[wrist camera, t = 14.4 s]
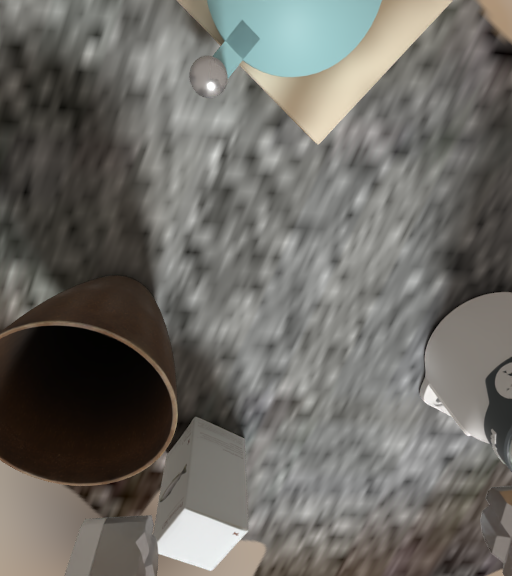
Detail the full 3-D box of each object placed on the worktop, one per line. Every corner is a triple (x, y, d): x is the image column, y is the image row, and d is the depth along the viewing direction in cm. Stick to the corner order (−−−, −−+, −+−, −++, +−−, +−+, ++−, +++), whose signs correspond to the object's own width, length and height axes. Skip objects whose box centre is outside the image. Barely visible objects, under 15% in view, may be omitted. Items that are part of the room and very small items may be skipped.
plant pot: (220, 323, 47) (218, 430, 33) (113, 389, 50) (67, 514, 36) (129, 211, 41) (77, 280, 27) (14, 292, 44) (-89, 394, 30)
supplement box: (194, 413, 52) (185, 506, 41) (246, 437, 54) (251, 532, 43) (164, 453, 55) (147, 552, 43) (215, 475, 57) (212, 574, 45)
